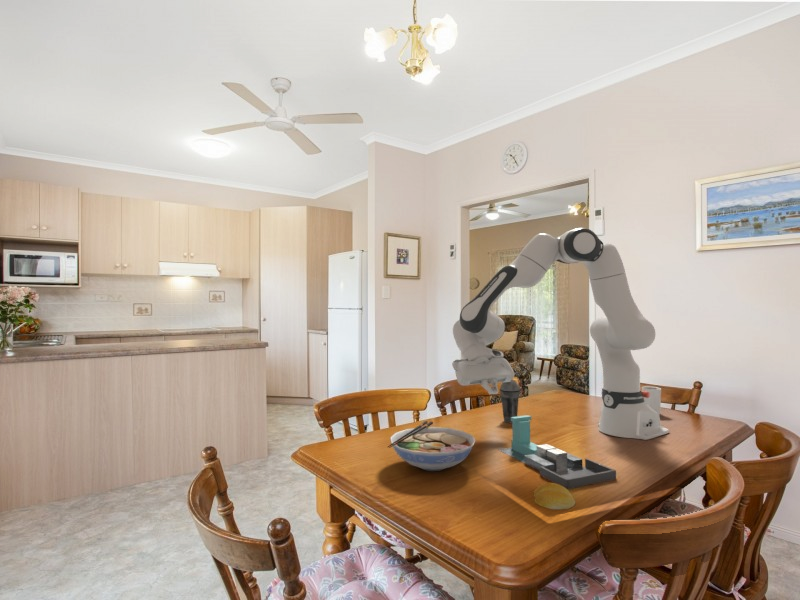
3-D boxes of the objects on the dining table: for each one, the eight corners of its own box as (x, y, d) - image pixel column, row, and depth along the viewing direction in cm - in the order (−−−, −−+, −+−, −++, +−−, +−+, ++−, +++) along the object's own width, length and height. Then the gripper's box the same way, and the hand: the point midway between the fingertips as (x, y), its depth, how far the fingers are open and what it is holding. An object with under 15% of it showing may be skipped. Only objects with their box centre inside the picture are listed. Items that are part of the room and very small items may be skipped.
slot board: (531, 447, 129) (531, 437, 129) (582, 470, 111) (582, 459, 111) (497, 452, 125) (497, 442, 125) (545, 478, 106) (544, 465, 106)
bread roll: (535, 513, 89) (535, 493, 89) (533, 494, 97) (532, 477, 97) (578, 517, 87) (578, 497, 87) (572, 498, 95) (571, 480, 95)
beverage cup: (497, 422, 158) (496, 367, 158) (504, 418, 164) (503, 365, 164) (516, 425, 154) (515, 369, 154) (523, 420, 160) (522, 366, 160)
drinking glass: (665, 415, 166) (665, 389, 166) (648, 415, 166) (647, 389, 166) (655, 411, 173) (654, 386, 173) (638, 411, 172) (638, 386, 173)
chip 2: (557, 463, 113) (557, 448, 113) (567, 468, 110) (567, 452, 110) (546, 465, 112) (546, 450, 112) (556, 470, 109) (556, 454, 109)
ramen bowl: (455, 492, 98) (454, 456, 98) (371, 474, 110) (370, 442, 110) (488, 458, 120) (488, 429, 120) (415, 446, 131) (415, 419, 131)
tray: (587, 470, 111) (586, 458, 111) (616, 483, 103) (615, 470, 103) (540, 478, 106) (539, 466, 106) (566, 493, 97) (566, 480, 97)
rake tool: (525, 446, 127) (525, 414, 127) (548, 457, 118) (548, 422, 118) (508, 449, 125) (508, 416, 125) (531, 460, 116) (530, 424, 116)
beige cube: (547, 458, 117) (547, 444, 117) (556, 463, 114) (556, 447, 114) (536, 460, 116) (536, 445, 116) (545, 465, 112) (545, 449, 112)
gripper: (453, 354, 140) (469, 389, 131) (506, 351, 148) (524, 385, 139) (447, 366, 144) (462, 401, 135) (498, 363, 152) (516, 396, 143)
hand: (494, 393), depth 137 cm, fingers closed
